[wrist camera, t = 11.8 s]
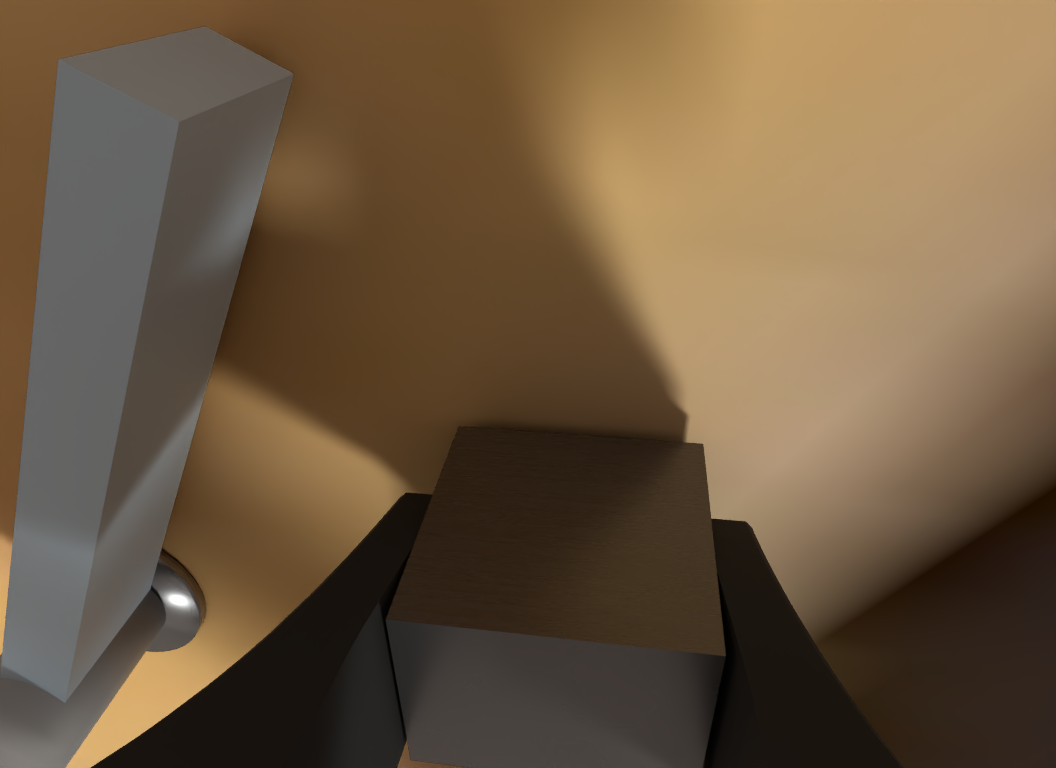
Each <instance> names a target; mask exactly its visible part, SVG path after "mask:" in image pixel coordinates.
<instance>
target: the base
mask: <svg viewBox="0 0 1056 768" xmlns="http://www.w3.org/2000/svg"><path fill="white" fill-rule="evenodd" d="M151 590H152V591H153V592H154V593H155V595H156V596H157V597H158V598H159V600H160V601H161V603H162V604H163V606H164V609H165V613H166V621H165V624H164V626H163V627H162V629H161V630H160V632H159V633H158V634H157V636H156V637H155V639H154V640H153V642H152V643H151V645H150V646H149V647H148V649H147V650H146V651H150V652H163V651H170V650H174V649H178V648H180V647H182V646H184V645H186V644H187V643H189V642H190V641H191V640H192V639H193V638H194V637H195V635H196V633H197V632H198V630H199V629H200V627H201V625H202V624H203V622H204V619H205V616H206V604H205V600H204V597H203V594H202V592H201V590H200V588H199V586H198V585H197V583H196V582H195V580H194V579H193V578H192V576H191V575H190V574H189V573H188V572H187V571H186V570H185V569H184V568H183V567H182V566H181V565H180V564H179V563H178V562H177V561H175V560H174V559H173V558H172V557H170V556H169V555H168V554H166V553H165V552H163V551H162V550H161V553H160V556H159V560H158V563H157V567H156V571H155V574H154V578H153V581H152V585H151Z"/></svg>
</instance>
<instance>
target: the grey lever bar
mask: <svg viewBox="0 0 1056 768" xmlns="http://www.w3.org/2000/svg"><path fill="white" fill-rule="evenodd" d="M293 76H294V73H292V72H290V71H288V70H286V69H284V68H282V67H281V66H279V65H277V64H275V63H273V62H271V61H269V60H267V59H266V58H264V57H262V56H260V55H258V54H256V53H254V52H253V51H251V50H249V49H247V48H245V47H243V46H241V45H240V44H238V43H236V42H234V41H232V40H230V39H228V38H226V37H225V36H223V35H221V34H219V33H217V32H215V31H213V30H212V29H210V28H208V27H206V26H204V27H199V28H195V29H190V30H186V31H182V32H177V33H173V34H168V35H164V36H160V37H155V38H151V39H146V40H142V41H137V42H133V43H129V44H124V45H120V46H115V47H111V48H107V49H102V50H98V51H93V52H89V53H84V54H80V55H76V56H71V57H67V58H62V59H58V66H57V77H56V88H55V98H54V109H53V120H52V130H51V141H50V152H49V162H48V173H47V184H46V194H45V205H44V215H43V226H42V237H41V247H40V258H39V269H38V279H37V290H36V301H35V311H34V322H33V333H32V343H31V354H30V365H29V375H28V386H27V397H26V407H25V418H24V429H23V439H22V450H21V460H20V471H19V482H18V492H17V503H16V514H15V524H14V535H13V546H12V556H11V567H10V578H9V588H8V599H7V610H6V620H5V631H4V642H3V652H2V654H1V655H0V768H65V767H66V766H67V764H68V763H69V762H70V760H71V759H72V757H73V756H74V754H75V753H76V751H77V750H78V749H79V747H80V746H81V744H82V743H83V741H84V740H85V738H86V737H87V736H88V734H89V733H90V731H91V730H92V728H93V727H94V725H95V724H96V723H97V721H98V720H99V718H100V717H101V715H102V714H103V712H104V711H105V710H106V708H107V707H108V705H109V704H110V702H111V701H112V699H113V698H114V697H115V695H116V694H117V692H118V691H119V689H120V688H121V686H122V685H123V684H124V682H125V681H126V679H127V678H128V676H129V675H130V673H131V672H132V671H133V669H134V668H135V666H136V665H137V663H138V662H139V660H140V659H141V658H142V656H143V655H144V653H145V652H146V650H147V649H148V647H149V646H150V645H151V643H152V642H153V640H154V639H155V637H156V636H157V634H158V633H159V632H160V630H161V629H162V627H163V626H164V624H165V621H166V613H165V609H164V606H163V604H162V603H161V601H160V600H159V598H158V597H157V596H156V595H155V593H154V592H153V591H152V590H151V585H152V581H153V578H154V574H155V571H156V567H157V563H158V560H159V556H160V553H161V549H162V546H163V542H164V538H165V535H166V531H167V528H168V524H169V520H170V517H171V513H172V510H173V506H174V502H175V499H176V495H177V492H178V488H179V485H180V481H181V477H182V474H183V470H184V467H185V463H186V459H187V456H188V452H189V449H190V445H191V442H192V438H193V434H194V431H195V427H196V424H197V420H198V416H199V413H200V409H201V406H202V402H203V399H204V395H205V391H206V388H207V384H208V381H209V377H210V373H211V370H212V366H213V363H214V359H215V356H216V352H217V348H218V345H219V341H220V338H221V334H222V330H223V327H224V323H225V320H226V316H227V313H228V309H229V305H230V302H231V298H232V295H233V291H234V287H235V284H236V280H237V277H238V273H239V270H240V266H241V262H242V259H243V255H244V252H245V248H246V244H247V241H248V237H249V234H250V230H251V226H252V223H253V219H254V216H255V212H256V209H257V205H258V201H259V198H260V194H261V191H262V187H263V183H264V180H265V176H266V173H267V169H268V166H269V162H270V158H271V155H272V151H273V148H274V144H275V140H276V137H277V133H278V130H279V126H280V123H281V119H282V115H283V112H284V108H285V105H286V101H287V97H288V94H289V90H290V87H291V83H292V80H293Z"/></svg>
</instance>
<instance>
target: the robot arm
mask: <svg viewBox="0 0 1056 768" xmlns="http://www.w3.org/2000/svg"><path fill="white" fill-rule="evenodd" d="M431 498H432V495H428V494H416V493H405V494H404V495H403V496H401V497H400V498H399V499H398V501H397V502H396V503H395V504H394V505H393V506H392V507H391V509H390V510H389V511H388V512H387V513H386V514H385V515H384V517H383V518H382V519H381V520H380V521H379V522H378V523H377V525H376V526H375V527H374V528H373V529H372V530H371V531H370V532H369V534H368V535H367V536H366V537H365V538H364V539H363V540H362V541H361V542H360V543H359V545H358V546H357V547H356V548H355V549H354V550H353V551H352V552H351V553H350V554H349V555H348V557H347V558H346V559H345V560H344V561H343V562H342V563H341V564H340V565H339V566H338V567H337V568H336V569H335V570H334V571H333V572H332V573H331V574H330V575H329V576H328V577H327V578H326V579H325V580H324V582H323V583H322V584H321V585H320V586H319V587H318V588H317V589H316V590H315V591H314V592H313V593H312V594H311V595H310V596H309V597H308V598H307V599H305V600H304V601H303V602H302V603H301V604H300V605H299V606H298V607H297V608H296V609H295V610H294V611H293V612H292V613H291V614H290V615H289V616H288V617H286V618H285V619H284V620H283V621H282V622H281V623H280V624H279V625H278V626H277V627H276V628H275V629H274V630H273V631H272V632H271V633H269V634H268V635H267V636H266V637H265V638H264V639H263V640H262V641H260V642H259V643H258V644H257V645H256V646H255V647H254V648H252V649H251V650H250V651H249V652H248V653H247V654H245V655H244V656H243V657H242V658H241V659H240V660H238V661H237V662H236V663H235V664H233V665H232V666H231V667H230V668H229V669H227V670H226V671H225V672H224V673H222V674H221V675H220V676H219V677H218V678H216V679H215V680H214V681H213V682H211V683H210V684H209V685H208V686H206V687H205V688H204V689H202V690H201V691H200V692H198V693H197V694H196V695H194V696H193V697H192V698H190V699H189V700H188V701H186V702H185V703H184V704H182V705H181V706H180V707H178V708H177V709H176V710H174V711H173V712H172V713H170V714H169V715H168V716H166V717H165V718H164V719H162V720H161V721H159V722H158V723H157V724H155V725H154V726H152V727H151V728H150V729H148V730H147V731H145V732H144V733H142V734H141V735H140V736H138V737H137V738H135V739H134V740H132V741H131V742H129V743H128V744H126V745H125V746H123V747H122V748H120V749H119V750H117V751H115V752H114V753H112V754H111V755H109V756H108V757H106V758H105V759H103V760H102V761H100V762H99V763H97V764H95V765H94V766H92V767H91V768H397V766H398V763H399V760H400V757H401V755H402V752H403V749H404V746H405V743H406V740H407V736H406V731H405V725H404V720H403V714H402V708H401V703H400V697H399V692H398V686H397V680H396V675H395V669H394V664H393V658H392V652H391V647H390V641H389V636H388V630H387V625H386V617H387V614H388V612H389V609H390V606H391V604H392V601H393V598H394V596H395V593H396V591H397V588H398V585H399V583H400V580H401V577H402V575H403V572H404V569H405V567H406V564H407V561H408V559H409V556H410V554H411V551H412V548H413V546H414V543H415V540H416V538H417V535H418V532H419V530H420V527H421V524H422V522H423V519H424V516H425V514H426V511H427V509H428V506H429V503H430V501H431ZM711 522H712V531H713V540H714V550H715V559H716V568H717V578H718V587H719V596H720V606H721V615H722V624H723V634H724V643H725V652H726V658H725V663H724V668H723V672H722V677H721V682H720V687H719V692H718V696H717V701H716V706H715V711H714V715H713V720H712V725H711V730H710V734H709V739H708V744H707V749H706V754H705V758H704V763H703V768H903V766H902V765H901V764H900V762H899V761H898V760H897V759H896V757H895V756H894V755H893V754H892V752H891V751H890V750H889V748H888V747H887V746H886V745H885V743H884V742H883V741H882V740H881V738H880V737H879V736H878V734H877V733H876V732H875V730H874V729H873V728H872V726H871V725H870V724H869V722H868V721H867V719H866V718H865V717H864V715H863V714H862V713H861V711H860V710H859V708H858V707H857V706H856V704H855V703H854V701H853V700H852V698H851V697H850V696H849V694H848V693H847V691H846V690H845V688H844V687H843V685H842V684H841V682H840V681H839V680H838V678H837V677H836V675H835V674H834V672H833V671H832V669H831V668H830V666H829V665H828V663H827V662H826V660H825V659H824V657H823V655H822V654H821V652H820V651H819V649H818V648H817V646H816V644H815V643H814V641H813V639H812V638H811V636H810V635H809V633H808V631H807V630H806V628H805V626H804V625H803V623H802V622H801V620H800V618H799V617H798V615H797V613H796V612H795V610H794V608H793V606H792V605H791V603H790V601H789V600H788V598H787V596H786V594H785V592H784V591H783V589H782V587H781V585H780V583H779V581H778V580H777V578H776V576H775V574H774V572H773V570H772V568H771V566H770V565H769V563H768V561H767V559H766V557H765V555H764V553H763V551H762V549H761V547H760V544H759V542H758V540H757V538H756V536H755V534H754V531H753V529H752V528H751V526H750V525H749V524H748V523H747V522H745V521H733V520H722V519H711Z"/></svg>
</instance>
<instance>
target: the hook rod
mask: <svg viewBox="0 0 1056 768" xmlns="http://www.w3.org/2000/svg"><path fill="white" fill-rule="evenodd" d="M386 625H387V630H388V636H389V641H390V647H391V652H392V658H393V664H394V669H395V675H396V680H397V686H398V692H399V697H400V703H401V708H402V714H403V720H404V725H405V731H406V736H407V742H408V747H409V753H410V759H411V760H416V761H423V762H431V763H438V764H446V765H453V766H461V767H468V768H703V763H704V758H705V754H706V749H707V744H708V739H709V734H710V730H711V725H712V720H713V715H714V711H715V706H716V701H717V696H718V692H719V687H720V682H721V677H722V672H723V668H724V663H725V658H726V652H725V643H724V634H723V624H722V615H721V606H720V596H719V587H718V578H717V568H716V559H715V550H714V540H713V531H712V522H711V512H710V503H709V494H708V484H707V475H706V466H705V456H704V447H703V444H697V443H683V442H669V441H656V440H642V439H628V438H614V437H600V436H586V435H573V434H559V433H545V432H531V431H517V430H503V429H490V428H476V427H462V426H459V427H458V429H457V432H456V434H455V437H454V440H453V442H452V445H451V448H450V450H449V453H448V456H447V458H446V461H445V464H444V466H443V469H442V471H441V474H440V477H439V479H438V482H437V485H436V487H435V490H434V493H433V495H432V498H431V501H430V503H429V506H428V509H427V511H426V514H425V516H424V519H423V522H422V524H421V527H420V530H419V532H418V535H417V538H416V540H415V543H414V546H413V548H412V551H411V554H410V556H409V559H408V561H407V564H406V567H405V569H404V572H403V575H402V577H401V580H400V583H399V585H398V588H397V591H396V593H395V596H394V598H393V601H392V604H391V606H390V609H389V612H388V614H387V617H386Z"/></svg>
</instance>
